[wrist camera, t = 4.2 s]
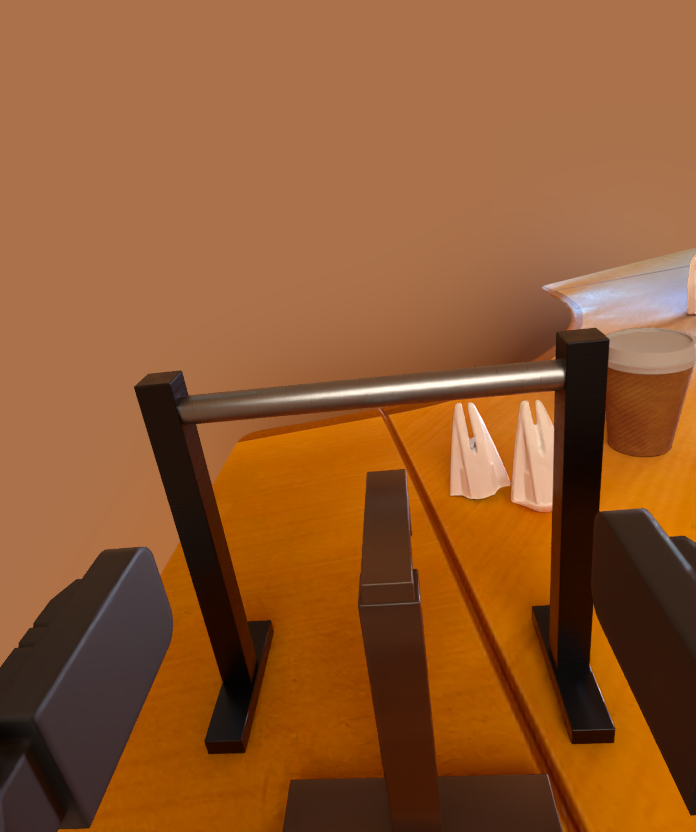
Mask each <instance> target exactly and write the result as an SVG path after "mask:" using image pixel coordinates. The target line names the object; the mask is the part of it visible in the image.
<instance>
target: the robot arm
mask: <svg viewBox="0 0 696 832" xmlns="http://www.w3.org/2000/svg"><path fill="white" fill-rule="evenodd" d="M591 591H592V598H593V604H594V608H595V611H596V615H597V617H598V620H599V622H600V624H601V627H602V629H603V631H604V633H605V635H606V637H607V639H608V641H609V644H610V646H611V648H612V650H613V652H614V654H615V656H616V658H617V660H618V663H619V665H620V667H621V669H622V671H623V673H624V675H625V677H626V680H627V682H628V684H629V686H630V688H631V690H632V692H633V694H634V696H635V699H636V701H637V703H638V705H639V707H640V709H641V711H642V713H643V716H644V718H645V720H646V722H647V724H648V726H649V728H650V730H651V732H652V735H653V737H654V739H655V741H656V743H657V745H658V747H659V749H660V751H661V754H662V756H663V758H664V760H665V762H666V764H667V766H668V768H669V771H670V773H671V775H672V777H673V779H674V781H675V783H676V785H677V787H678V790H679V792H680V794H681V796H682V798H683V800H684V802H685V804H686V807H687V809H688V811H689V813H690V815H696V543H695V542H693V541H692V540H690V539H689V538H687V537H686V536H675V537H668V536H667V534H666V533H665V532H664V530H663V529H662V528H661V526H660V525H659V524H658V523H657V521H656V520H655V519H654V517H653V516H652V515H651V513H650V512H649V511H648V510H646V509H644V508H641V509H628V510H615V511H603V512H598V513H597V514H596V516H595V519H594V532H593V553H592V573H591ZM172 631H173V617H172V611H171V607H170V604H169V601H168V598H167V595H166V592H165V589H164V586H163V583H162V580H161V577H160V574H159V572H158V568H157V565H156V562H155V559H154V556H153V554H152V552H151V551H150V549H149V548H147V547H134V548H120V549H108V550H104V551H103V552H101V553H100V554H99V556H98V557H97V558H96V560H95V561H94V563H93V564H92V565H91V567H90V568H89V570H88V571H87V573H86V574H85V575H84V577H83V578H82V579H77V580H75V581H74V582H73V583H71V584H70V585H69V586H68V587H66V588H65V589H64V590H63V591H61V592H60V593H59V594H58V595H56V596H55V597H54V598H53V599H52V600H50V602H49V603H48V604H47V606H46V607H45V609H44V610H43V611H42V612H41V614H40V615H39V616H38V618H37V619H36V621H35V622H34V626H33V628H30V629H29V630H28V631H27V633H26V634H25V635H24V636H23V638H22V639H21V640H20V642H19V647H18V648H15V649H14V650H13V651H12V653H11V654H10V655H9V656H8V658H7V659H6V660H5V662H4V663H3V665H2V666H1V667H0V832H57V831H58V829H83V828H90V826H91V824H92V821H93V819H94V817H95V815H96V812H97V810H98V808H99V805H100V803H101V801H102V798H103V796H104V794H105V792H106V789H107V787H108V785H109V782H110V780H111V778H112V776H113V773H114V771H115V769H116V766H117V764H118V762H119V759H120V757H121V755H122V753H123V750H124V748H125V746H126V743H127V741H128V739H129V737H130V734H131V732H132V730H133V727H134V725H135V723H136V721H137V718H138V716H139V714H140V711H141V709H142V707H143V704H144V702H145V700H146V698H147V695H148V693H149V691H150V688H151V686H152V684H153V682H154V679H155V677H156V675H157V672H158V670H159V668H160V665H161V663H162V661H163V659H164V656H165V654H166V652H167V649H168V647H169V644H170V641H171V637H172Z"/></svg>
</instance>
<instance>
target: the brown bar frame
mask: <svg viewBox="0 0 696 832" xmlns="http://www.w3.org/2000/svg"><path fill="white" fill-rule="evenodd" d="M411 536H412V528H411V517H410V506H409V496H408V486H407V476H406V470H405V469H400V470H388V471H375V472H367V478H366V495H365V512H364V528H363V545H362V562H361V573H360V582H359V598H358V609H359V616H360V622H361V629H362V635H363V642H364V648H365V655H366V661H367V668H368V674H369V681H370V687H371V694H372V700H373V706H374V713H375V719H376V726H377V732H378V739H379V745H380V752H381V758H382V765H383V771H384V778H351V779H307V780H291V781H290V787H289V793H288V800H287V807H286V813H285V820H284V826H283V832H563V831H562V827H561V823H560V819H559V815H558V812H557V808H556V804H555V800H554V796H553V792H552V789H551V785H550V781H549V777H548V775H547V774H529V775H485V776H440V777H438V773H437V763H436V752H435V742H434V732H433V721H432V711H431V700H430V690H429V680H428V669H427V659H426V648H425V638H424V627H423V617H422V607H421V596H420V586H419V575H418V570H417V569H413V563H412V547H411Z"/></svg>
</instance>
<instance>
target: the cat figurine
mask: <svg viewBox="0 0 696 832" xmlns="http://www.w3.org/2000/svg"><path fill="white" fill-rule="evenodd" d="M687 291H688V302H687V314H696V254H695V255H694V256H693V258H692V260H691V264H690V271H689V277H688V283H687Z"/></svg>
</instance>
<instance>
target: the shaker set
mask: <svg viewBox="0 0 696 832" xmlns="http://www.w3.org/2000/svg"><path fill="white" fill-rule="evenodd" d="M535 409H536V419H537V423H536V425H534V423H533V420H532V416H531V411H530V407H529V403H528V401H526V400H524V401H522V402H521V404H520V408H519V414H518V420H517V428H516V438H515V449H514V460H513V473H512V489H511V501H512V502H513V503H517V504H520V505H523V506H526V507H528V508H530V509H533V510H535V511H538V512H551V511H552V498H553V455H554V426H553V424H552V422H551V419H550V417H549V415H548V413H547V411H546V409H545V407H544V406H543V404H542V402H541V401H540V400H536V401H535ZM468 411H469V416H470V422H471V426H472V430H473V436H474V437H472V438H470V439H469V437H468V430H467V426H466V422H465V416H464V412H463V408H462V404H461V403H457V404H456V405H455V408H454V416H453V425H452V441H451V465H450V496H453V495H459V496H460V495H462V496H466V497H467V498H470V499H481V498H486V497H489V496H491V495H494V494H496V491H497V490H498V489H500V488H501V487H503V486H510V485H511V483H510V482H511V481H510V480H509V477H508V475H507V474H508V473H507V472H506V468H505V467H504V464H503V462H502V461H501V459H500V457H499V454H498V452H497V450H496V447H495V445H494V443H493V441H492V438H491V437H490V435H489V433H488V431H487V429H486V426H485V424H484V422H483V420H482V418H481V416H480V414H479V413H478V411H477V409H476V407H475V406H474V404H473V403H471V402H470V403H469V404H468Z"/></svg>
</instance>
